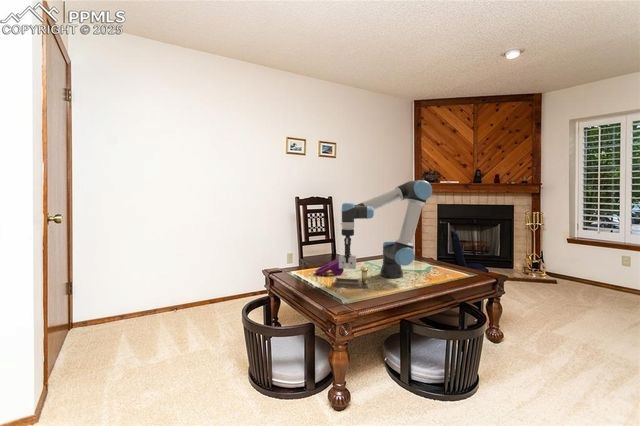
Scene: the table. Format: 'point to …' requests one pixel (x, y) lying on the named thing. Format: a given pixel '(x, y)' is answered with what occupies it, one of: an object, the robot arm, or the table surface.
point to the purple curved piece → (330, 268)
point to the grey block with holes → (351, 262)
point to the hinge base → (353, 281)
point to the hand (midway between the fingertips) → (347, 266)
